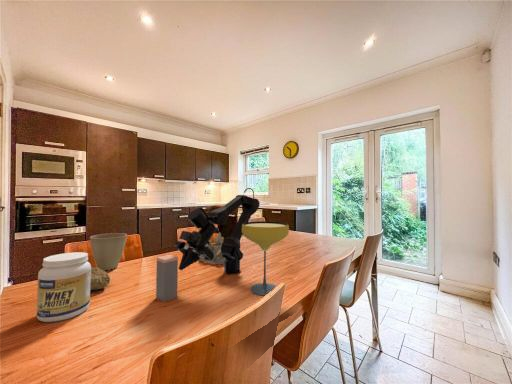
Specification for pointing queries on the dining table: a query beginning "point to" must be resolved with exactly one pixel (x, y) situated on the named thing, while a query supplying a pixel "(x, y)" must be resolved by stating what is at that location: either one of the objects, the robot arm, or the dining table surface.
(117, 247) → the plant pot
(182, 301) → the dining table surface
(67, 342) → the dining table surface
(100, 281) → the brown rock
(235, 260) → the robot arm
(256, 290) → the cocktail glass
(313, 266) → the dining table surface
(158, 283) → the charcoal block
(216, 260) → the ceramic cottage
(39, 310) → the supplement tub
